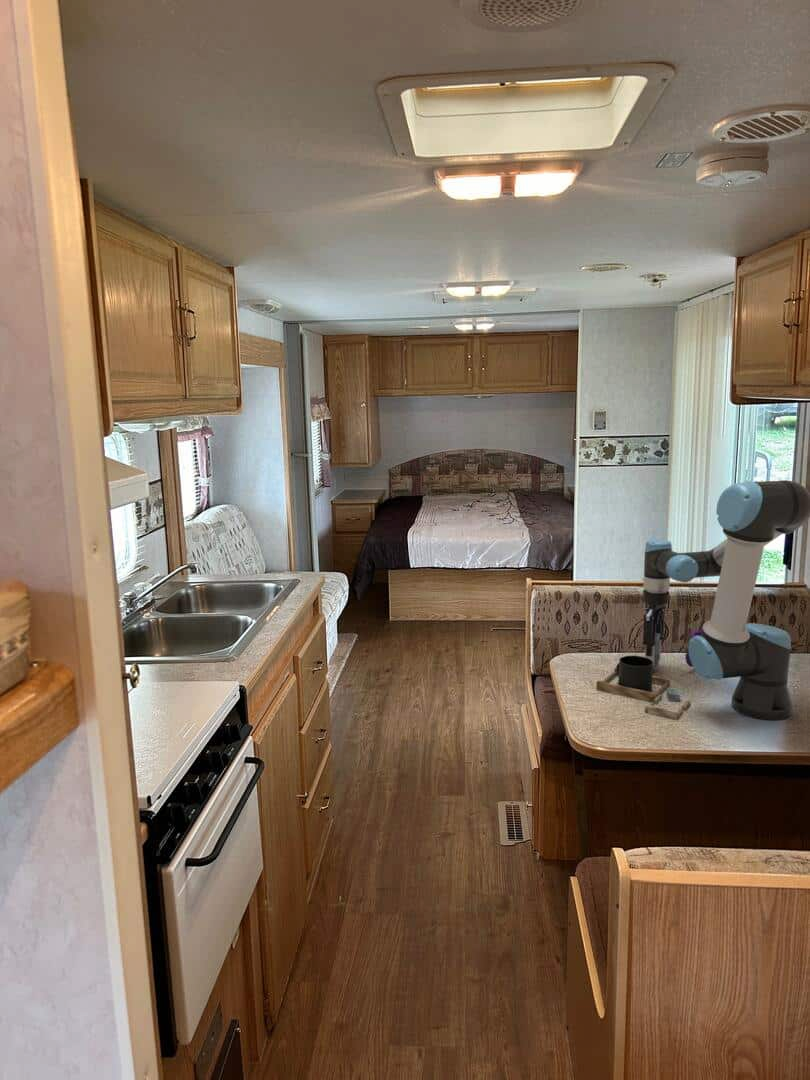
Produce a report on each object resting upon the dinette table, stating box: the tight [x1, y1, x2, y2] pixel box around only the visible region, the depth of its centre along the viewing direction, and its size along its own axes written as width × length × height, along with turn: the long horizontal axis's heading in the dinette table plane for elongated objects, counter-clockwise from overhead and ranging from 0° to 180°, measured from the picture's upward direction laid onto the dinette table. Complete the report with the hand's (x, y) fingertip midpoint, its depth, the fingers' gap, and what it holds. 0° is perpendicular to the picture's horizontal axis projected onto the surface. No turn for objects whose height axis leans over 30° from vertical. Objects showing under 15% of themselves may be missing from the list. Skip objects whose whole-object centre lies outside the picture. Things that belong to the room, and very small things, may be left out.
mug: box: [615, 655, 654, 692], centre depth 225 cm, size 9×12×9 cm
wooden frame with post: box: [595, 633, 671, 703], centre depth 230 cm, size 17×26×12 cm, turn 144°
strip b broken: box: [644, 687, 691, 721], centre depth 214 cm, size 9×17×2 cm, turn 144°
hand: (652, 662), depth 240 cm, fingers open, 5 cm apart
